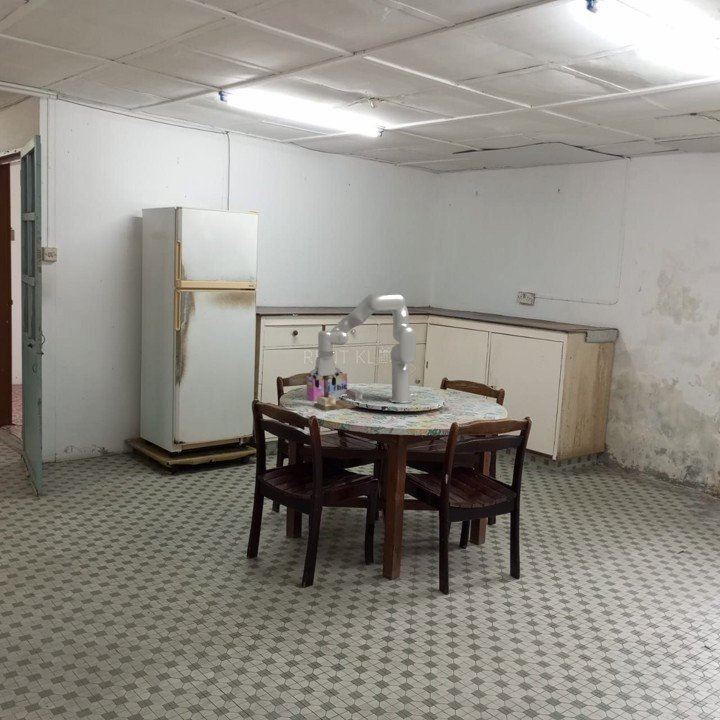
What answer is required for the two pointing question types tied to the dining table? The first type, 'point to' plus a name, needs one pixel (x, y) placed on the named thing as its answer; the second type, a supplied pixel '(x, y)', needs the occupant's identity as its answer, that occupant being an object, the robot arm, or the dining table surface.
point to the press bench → (341, 404)
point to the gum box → (332, 390)
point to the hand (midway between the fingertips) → (325, 386)
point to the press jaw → (326, 395)
